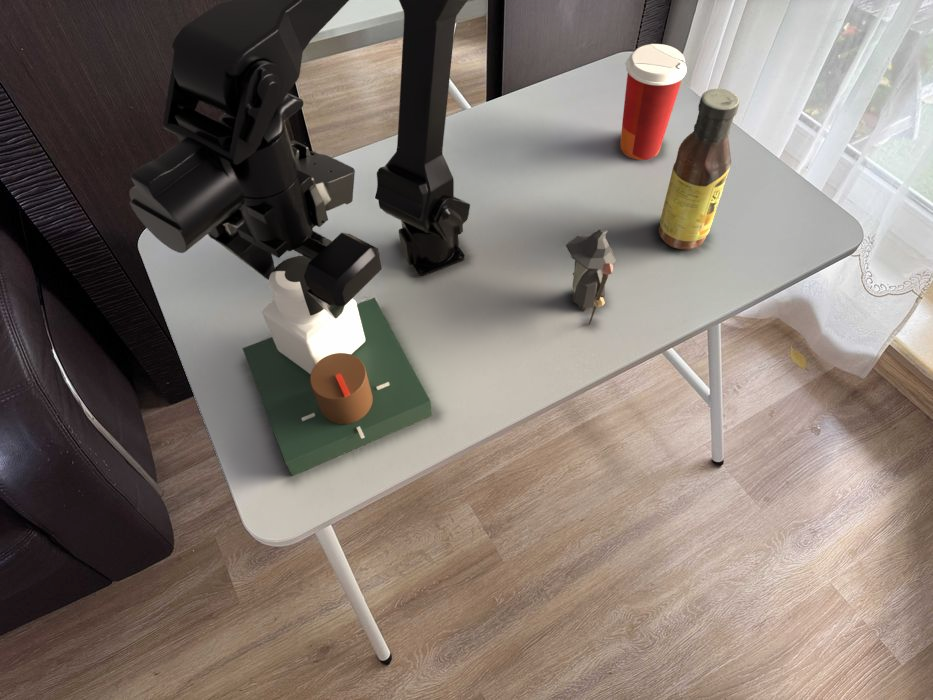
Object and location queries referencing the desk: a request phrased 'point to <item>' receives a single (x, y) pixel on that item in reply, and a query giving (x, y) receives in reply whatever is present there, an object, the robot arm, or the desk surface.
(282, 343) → the medicine bottle
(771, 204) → the desk surface
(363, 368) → the rotary dial knob
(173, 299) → the desk surface
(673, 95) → the paper cup
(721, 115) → the sauce bottle
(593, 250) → the wizard figurine
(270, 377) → the rotary dial base
